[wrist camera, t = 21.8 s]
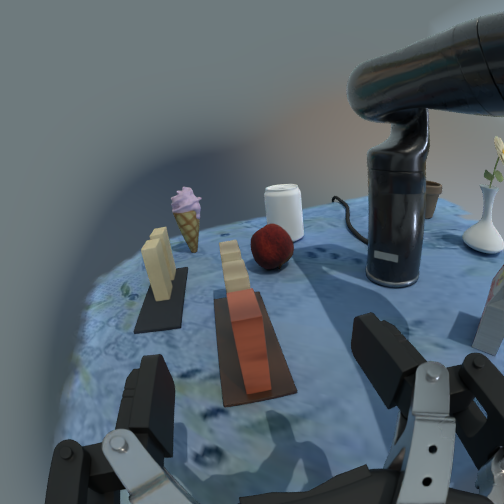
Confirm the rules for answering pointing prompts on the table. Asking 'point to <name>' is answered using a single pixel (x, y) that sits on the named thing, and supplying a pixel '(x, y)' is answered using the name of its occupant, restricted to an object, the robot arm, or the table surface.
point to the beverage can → (285, 208)
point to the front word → (227, 351)
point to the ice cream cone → (187, 216)
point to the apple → (271, 246)
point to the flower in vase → (487, 214)
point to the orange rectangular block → (249, 340)
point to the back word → (161, 286)
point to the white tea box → (492, 318)
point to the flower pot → (431, 197)
